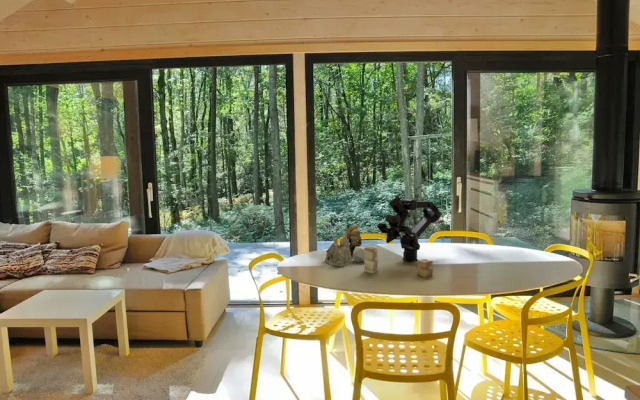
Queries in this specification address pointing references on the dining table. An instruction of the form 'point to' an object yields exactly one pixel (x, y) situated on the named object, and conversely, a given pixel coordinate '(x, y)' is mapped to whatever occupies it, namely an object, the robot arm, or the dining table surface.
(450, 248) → the dining table surface
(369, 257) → the cream two-panel pillar
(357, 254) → the die
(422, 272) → the oak block
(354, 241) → the brown lumpy rock
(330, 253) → the jagged grey rock
